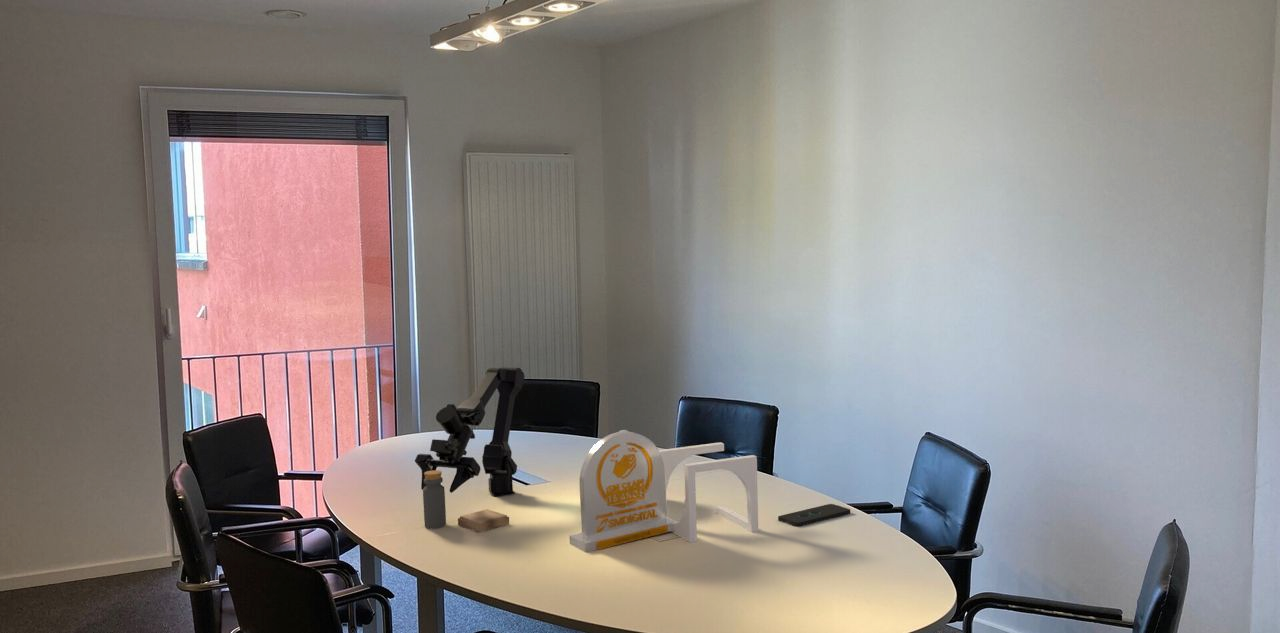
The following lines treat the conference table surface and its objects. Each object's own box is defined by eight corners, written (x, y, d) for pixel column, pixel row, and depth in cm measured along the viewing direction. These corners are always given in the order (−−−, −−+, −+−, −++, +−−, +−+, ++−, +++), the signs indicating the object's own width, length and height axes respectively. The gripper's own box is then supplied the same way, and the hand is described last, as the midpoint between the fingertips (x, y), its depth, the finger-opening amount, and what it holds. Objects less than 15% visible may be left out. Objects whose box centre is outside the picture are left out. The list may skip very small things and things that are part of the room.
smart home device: (776, 515, 271) (830, 502, 281) (776, 521, 271) (830, 508, 282) (797, 522, 264) (851, 509, 275) (797, 528, 264) (851, 515, 275)
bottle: (441, 529, 272) (438, 475, 270) (421, 528, 273) (418, 474, 271) (449, 522, 277) (447, 469, 276) (429, 522, 278) (427, 469, 277)
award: (586, 552, 248) (581, 443, 246) (569, 543, 256) (564, 437, 253) (679, 530, 263) (675, 427, 260) (661, 522, 270) (657, 422, 268)
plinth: (487, 517, 281) (487, 508, 281) (509, 524, 274) (508, 515, 274) (458, 525, 275) (457, 516, 274) (479, 532, 267) (478, 523, 267)
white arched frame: (657, 522, 272) (655, 450, 270) (722, 512, 280) (720, 442, 278) (689, 543, 254) (687, 465, 252) (758, 531, 262) (756, 456, 260)
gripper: (416, 425, 282) (394, 472, 273) (473, 429, 275) (452, 477, 266) (434, 447, 290) (413, 494, 281) (489, 451, 283) (469, 499, 274)
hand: (436, 490), depth 275 cm, fingers open, 9 cm apart
